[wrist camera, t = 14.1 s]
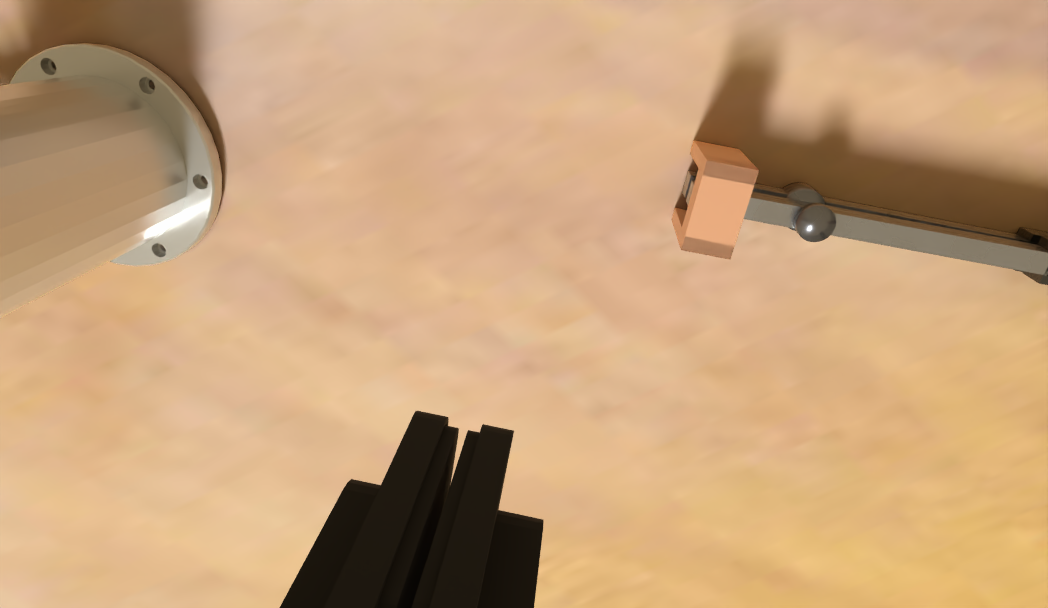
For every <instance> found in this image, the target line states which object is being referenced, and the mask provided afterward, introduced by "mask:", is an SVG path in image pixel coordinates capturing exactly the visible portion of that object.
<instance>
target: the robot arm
mask: <svg viewBox="0 0 1048 608" xmlns="http://www.w3.org/2000/svg"><path fill="white" fill-rule="evenodd" d="M154 85H155V86H154ZM206 179H207V180H206ZM221 196H222V172H221V166H220V160H219V155H218V152H217V149H216V146H215V143H214V140H213V137H212V134H211V132H210V130H209V128H208V126H207V125H206V123H205V121H204V119H203V117H202V115H201V113H200V112H199V110H198V109H197V108H196V106H195V105H194V104H193V102H192V101H191V100H190V98H189V97H188V96H187V94H186V93H185V92H184V91H183V90H182V89H181V88H180V87H179V86H178V85H177V84H176V83H175V82H174V81H173V80H172V79H171V78H170V77H169V76H168V75H166V74H165V73H163V72H162V71H161V70H159V69H158V68H157V67H155V66H154V65H152V64H151V63H150V62H148V61H146V60H144V59H142V58H140V57H138V56H136V55H134V54H132V53H130V52H128V51H125V50H122V49H118V48H115V47H112V46H108V45H102V44H91V43H80V44H65V45H61V46H57V47H53V48H49V49H45V50H43V51H42V52H40V53H38V54H36V55H35V56H33V57H31V58H29V59H28V60H27V61H26V62H25V63H24V64H23V65H22V66H21V67H20V68H19V69H18V70H17V71H16V72H15V74H14V76H13V78H12V79H11V81H10V83H9V84H8V85H0V318H2V317H4V316H6V315H8V314H10V313H12V312H14V311H16V310H17V309H19V308H21V307H23V306H25V305H27V304H29V303H31V302H33V301H35V300H37V299H39V298H40V297H42V296H44V295H46V294H48V293H50V292H52V291H54V290H56V289H58V288H60V287H62V286H64V285H65V284H67V283H69V282H71V281H73V280H75V279H77V278H79V277H81V276H83V275H85V274H87V273H88V272H90V271H92V270H94V269H96V268H98V267H100V266H102V265H104V264H106V263H108V262H112V263H115V264H120V265H129V266H149V265H157V264H160V263H163V262H167V261H170V260H172V259H174V258H176V257H178V256H180V255H182V254H183V253H185V252H187V251H188V250H190V249H191V248H192V247H194V246H195V245H196V244H198V243H199V242H200V241H201V240H202V238H203V237H204V236H205V235H206V233H207V232H208V231H209V230H210V228H211V226H212V224H213V222H214V220H215V218H216V216H217V214H218V209H219V205H220V200H221ZM458 431H459V429H458V428H455V427H450V426H448V417H445V416H440V415H435V414H430V413H426V412H421V411H416V412H415V413H414V415H413V417H412V419H411V422H410V424H409V426H408V428H407V430H406V432H405V434H404V437H403V439H402V441H401V443H400V445H399V447H398V450H397V452H396V454H395V456H394V458H393V460H392V463H391V465H390V467H389V469H388V471H387V473H386V475H385V478H384V480H383V482H382V484H381V485H377V484H372V483H367V482H362V481H358V480H353V479H351V480H350V481H349V482H348V483H347V484H346V486H345V487H344V489H343V491H342V493H341V495H340V496H339V498H338V500H337V502H336V504H335V506H334V508H333V509H332V511H331V513H330V515H329V517H328V519H327V521H326V522H325V524H324V526H323V528H322V530H321V532H320V534H319V536H318V537H317V539H316V541H315V543H314V545H313V547H312V549H311V550H310V552H309V554H308V556H307V558H306V560H305V562H304V563H303V565H302V567H301V569H300V571H299V573H298V575H297V576H296V578H295V580H294V582H293V584H292V586H291V588H290V590H289V591H288V593H287V595H286V597H285V599H284V601H283V603H282V604H281V606H280V608H534V601H535V593H536V584H537V576H538V567H539V558H540V550H541V541H542V532H543V520H542V519H537V518H533V517H528V516H523V515H519V514H514V513H509V512H504V511H500V510H498V508H499V503H500V498H501V493H502V488H503V483H504V478H505V473H506V468H507V463H508V458H509V453H510V448H511V443H512V438H513V433H514V431H512V430H507V429H503V428H498V427H493V426H488V425H482V427H481V431H480V433H479V432H474V431H469V430H468V432H467V435H466V438H465V441H464V445H463V448H462V451H461V454H460V457H459V460H458V463H457V466H456V470H455V473H454V476H453V479H452V482H451V477H452V471H453V465H454V458H455V452H456V445H457V439H458ZM450 484H451V485H450Z"/></svg>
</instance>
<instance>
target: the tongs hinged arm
mask: <svg viewBox="0 0 1048 608" xmlns="http://www.w3.org/2000/svg"><path fill="white" fill-rule="evenodd" d="M694 183H695V181H691V184H690V188H689V192H688V195H687V199H686V202H687V205H688V204H689V201H690V197H691V194H692V190H693V187H694ZM744 219H747V220H752V221H758V222H763V223H768V224H774V225H779V226H784V227H790V228H795V230H796V231H797V233H798V234H799V235H800V236H801V237H802V238H803V239H804V240H806V241H810V242H819V241H822V240H824V239H826V238H828V237H829V236H830V235H833V236H838V237H843V238H849V239H854V240H859V241H865V242H870V243H875V244H881V245H886V246H891V247H897V248H902V249H907V250H913V251H918V252H923V253H929V254H934V255H939V256H945V257H950V258H955V259H961V260H966V261H971V262H977V263H982V264H987V265H993V266H998V267H1003V268H1009V269H1014V270H1020V271H1023V273H1024V274H1025V275H1027V276H1028V277H1030V278H1031V279H1033V280H1034V281H1036V282H1038V283H1040V284H1045V285H1048V237H1043V236H1042V237H1041V239H1040V240H1039V242H1038V244H1031V243H1026V242H1021V241H1015V240H1010V239H1004V238H999V237H994V236H988V235H983V234H978V233H972V232H967V231H961V230H956V229H951V228H945V227H940V226H934V225H929V224H924V223H918V222H913V221H908V220H902V219H897V218H891V217H886V216H881V215H875V214H870V213H865V212H859V211H854V210H848V209H843V208H838V207H832V206H827V205H824V204H821V203H811V202H805V201H800V200H795V199H789V198H784V197H778V196H773V195H768V194H762V193H757V192H752V194H751V197H750V200H749V203H748V207H747V210H746V213H745V216H744Z"/></svg>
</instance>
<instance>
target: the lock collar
mask: <svg viewBox="0 0 1048 608" xmlns="http://www.w3.org/2000/svg"><path fill="white" fill-rule="evenodd" d="M690 154H691V156H692V158H693V160H694V161H695V163H696V165H697V166H698V168H699V169H698V173H697V176H696V180H695V183H694V187H693V190H692V194H691V197H690V201H689V204H688V208H687V210H684V209H679V208H675V209H674V213H673V217H672V223H673V226H674V229H675V232H676V235H677V239H678V242H679V245H680V248H681V250H684V251H689V252H694V253H699V254H704V255H709V256H715V257H720V258H725V259H731V256H732V252H733V249H734V246H735V243H736V240H737V237H738V234H739V231H740V228H741V225H742V222H743V219H744V216H745V213H746V210H747V207H748V203H749V200H750V197H751V194H752V191H753V188H754V185H755V182H756V179H757V176H758V173H759V170H758V169H757V168H756V167H755V165H754V164H753V163H752V162H751V161H750V160H749V159H748V158H747V157H746V156H745V155H744V154H743V153H742V152H741V150H740V149H736V148H731V147H726V146H721V145H715V144H710V143H705V142H700V141H695V140H694V141H693V145H692V148H691V152H690Z"/></svg>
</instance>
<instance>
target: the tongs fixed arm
mask: <svg viewBox="0 0 1048 608" xmlns="http://www.w3.org/2000/svg"><path fill="white" fill-rule="evenodd" d="M697 173H698V172H694V171H689V170H688V173H687V176H686V180H685V184H684V187H683V191H682V193H683V195H684V198H687V195H688V192H689V188H690V184H691V181H695V180H696V176H697ZM752 192H757V193H762V194H768V195H773V196H778V197H784V198H789V199H795V200H800V201H805V202H811V203H821V204H824V205H827V206H832V207H838V208H843V209H848V210H854V211H859V212H865V213H870V214H875V215H881V216H886V217H891V218H897V219H902V220H908V221H913V222H918V223H924V224H929V225H934V226H940V227H945V228H951V229H956V230H961V231H967V232H972V233H978V234H983V235H988V236H994V237H999V238H1004V239H1010V240H1015V241H1021V242H1026V243H1031V244H1038V242H1039V240H1040V239H1041V237H1042V236H1043V237H1048V232H1043V231H1038V230H1032V229H1027V228H1022V227H1020V229H1019V231H1018V233H1017V234H1013V233H1007V232H1002V231H997V230H992V229H987V228H982V227H977V226H971V225H966V224H961V223H956V222H951V221H946V220H941V219H935V218H930V217H925V216H920V215H915V214H910V213H905V212H900V211H894V210H889V209H884V208H879V207H874V206H869V205H864V204H858V203H853V202H848V201H843V200H838V199H833V198H828V197H822V196H821V195H820V194H819V193H818V192H817V191H816V190H814V189H813V188H812V187H811V186H809V185H808V184H805V183H792V184H789V185H787V186H786V187H784V188H783V189H781V188H776V187H771V186H766V185H761V184H756V183H755V185H754V188H753V191H752ZM788 228H790V227H788ZM790 229H792V230H795V228H790ZM795 231H796V230H795ZM1013 270H1014V269H1013ZM1016 271H1020V270H1016ZM1021 272H1023V271H1021Z"/></svg>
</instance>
